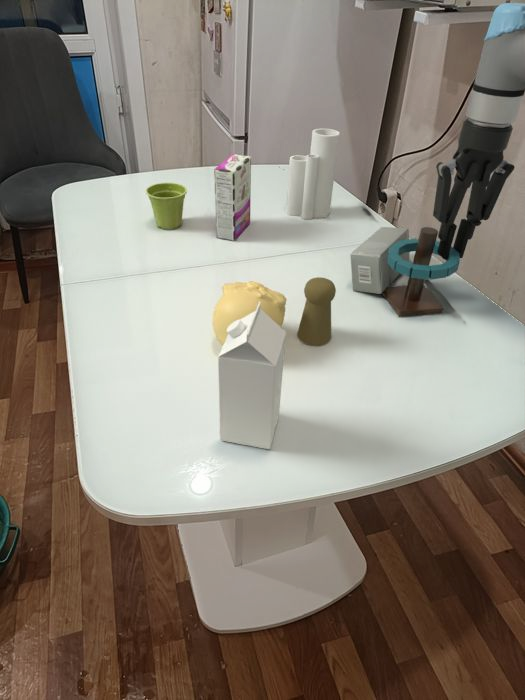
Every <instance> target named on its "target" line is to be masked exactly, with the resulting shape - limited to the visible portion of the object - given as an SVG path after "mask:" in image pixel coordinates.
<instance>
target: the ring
mask: <svg viewBox="0 0 525 700" xmlns="http://www.w3.org/2000/svg"><path fill="white" fill-rule="evenodd" d="M418 239H419V237H418V238H409V239H407V240H402V241H399V242H397V243H395V244H393V245H391V246H390V248H389V251H388V257H387V263H388V264H389V265H390V267H391V268H392V269H393V270H395V271H396V272H398V273H400V275H403V276H405V277H407V278H409V277H410V276H411V278H419V279H425V280H428V281H429V280H438V279H447V278H448V277H451V275H453V274H455V273H456V272H458V270H459V266H460V263H461V262H460V259H461V258H460V254H459V253H458V252H457V251H456V250H455V249H454V248H453V246H452V245H451V248H450V252H449V255H448V259H444V260H445V262H443V263H441V264H440V263H439V264H433V265H429V266H426V265H417V264H413V262H410V261H409V262H408V261H405V260H403V259H402V258H401V257H400V255H402V254H404V253H405V252H409V253H411V252H415V251H416V247H417V243H418ZM439 243H440V240H436V242H435V246H434V249H433V253H432V254H433V255H436V256H439V257H441V256H440V255H439V254H438V253H437V251H438V247H439Z"/></svg>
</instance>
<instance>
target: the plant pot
mask: <svg viewBox="0 0 525 700" xmlns="http://www.w3.org/2000/svg"><path fill="white" fill-rule="evenodd" d="M187 192H188V189H187V187H186V186H184V185H183V184H180V183H175V182H159V183H155V184H151V185H149V186H148V187H147V188H146V189H145V193H146V195H147V196H148V199H149V201H150V204H151V208H152V213H153V216H154V220H155V225H156V227H157V228H161V229H163V230H167V231H168V230H176V229H177V228H179V227H182V224H183V211H184V204H185V203H184V202H185V198H186V195H187Z"/></svg>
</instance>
